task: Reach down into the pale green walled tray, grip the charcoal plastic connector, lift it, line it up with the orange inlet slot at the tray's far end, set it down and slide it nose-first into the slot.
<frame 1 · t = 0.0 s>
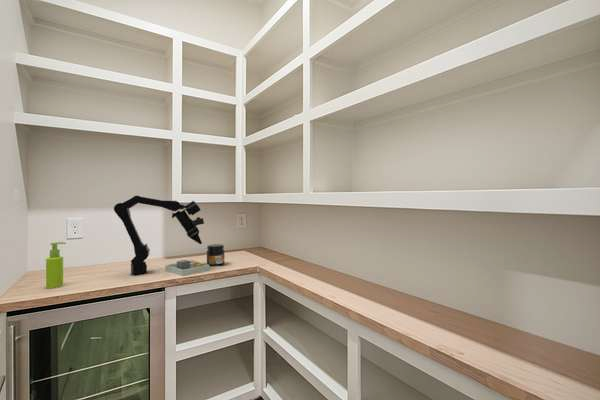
hand: (200, 242, 161), 15 cm above the worktop, tool tilted 35°, fingers open, 9 cm apart
soap dispenser: (56, 286, 129), on the worktop
supplement container: (215, 265, 170), on the worktop
bay: (187, 271, 155), on the worktop
connector: (183, 272, 151), resting on bay
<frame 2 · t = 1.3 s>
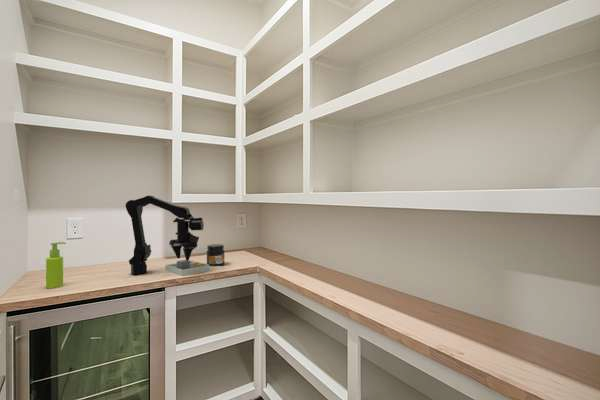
hand: (183, 259, 151), 7 cm above the worktop, tool pointing down, fingers open, 9 cm apart
nothing on the worktop moved.
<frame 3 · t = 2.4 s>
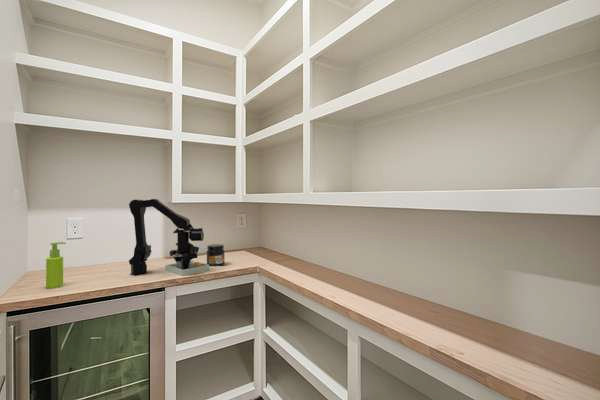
hand: (183, 270, 151), 2 cm above the worktop, tool pointing down, fingers closed on connector, 4 cm apart
connector: (183, 272, 151), point 1 cm above the worktop, touching bay, gripper
everything else where it was.
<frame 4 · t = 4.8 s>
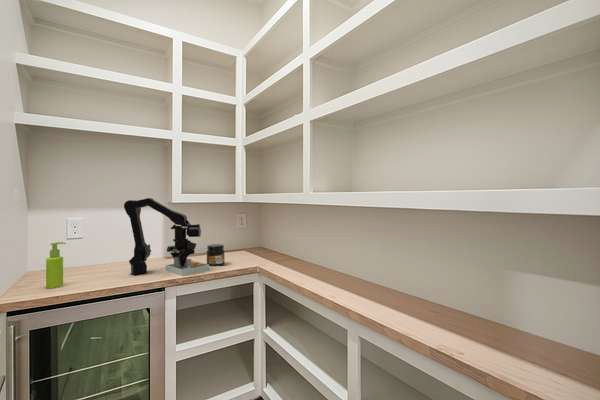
hand: (180, 266, 152), 4 cm above the worktop, tool pointing down, fingers closed on connector, 4 cm apart
connector: (180, 268, 152), point 3 cm above the worktop, touching gripper
everything else where it was.
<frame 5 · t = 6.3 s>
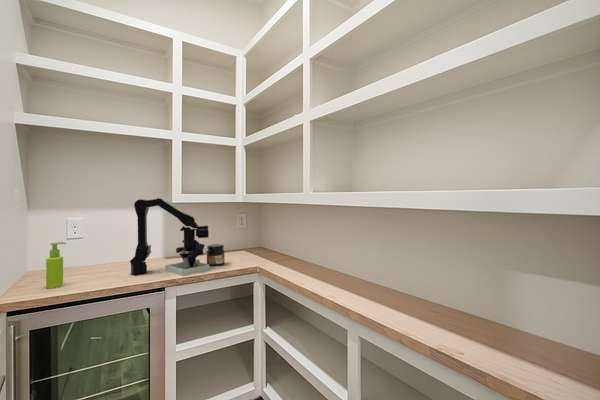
hand: (189, 266, 156), 2 cm above the worktop, tool pointing down, fingers closed on connector, 4 cm apart
connector: (189, 268, 156), point 1 cm above the worktop, touching gripper
everything else where it was.
when the fingers open (2 cm above the worktop, at t = 7.3 s): connector stays where it is, resting on bay.
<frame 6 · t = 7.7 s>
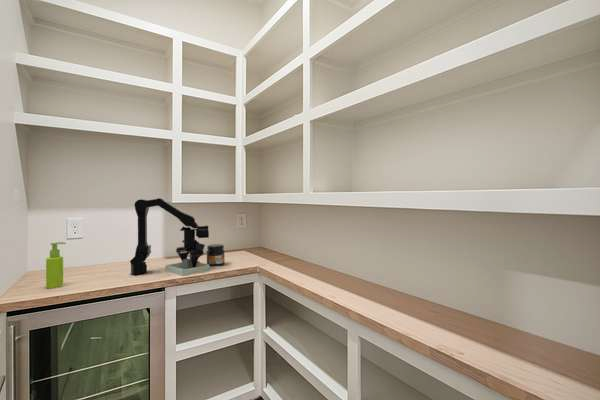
hand: (189, 266, 156), 2 cm above the worktop, tool pointing down, fingers open, 9 cm apart
connector: (189, 270, 156), resting on bay
everything else where it was.
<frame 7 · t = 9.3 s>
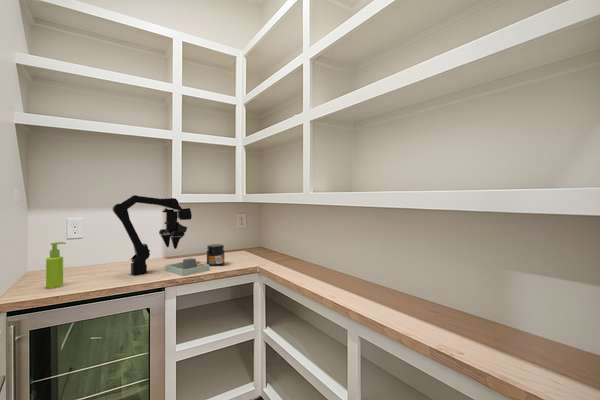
hand: (171, 247, 159), 12 cm above the worktop, tool pointing down, fingers open, 9 cm apart
nothing on the worktop moved.
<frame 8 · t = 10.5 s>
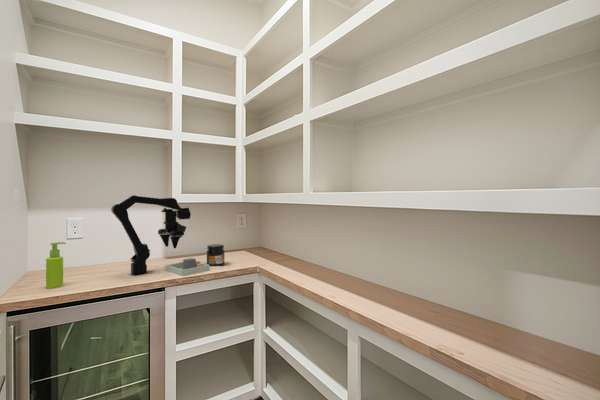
hand: (170, 247, 160), 13 cm above the worktop, tool pointing down, fingers open, 9 cm apart
nothing on the worktop moved.
at the end: connector 0.6 cm from the target spot on the bay, point 0.5 cm above the bay's base; connector tilted 0°; the gripper is holding nothing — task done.
